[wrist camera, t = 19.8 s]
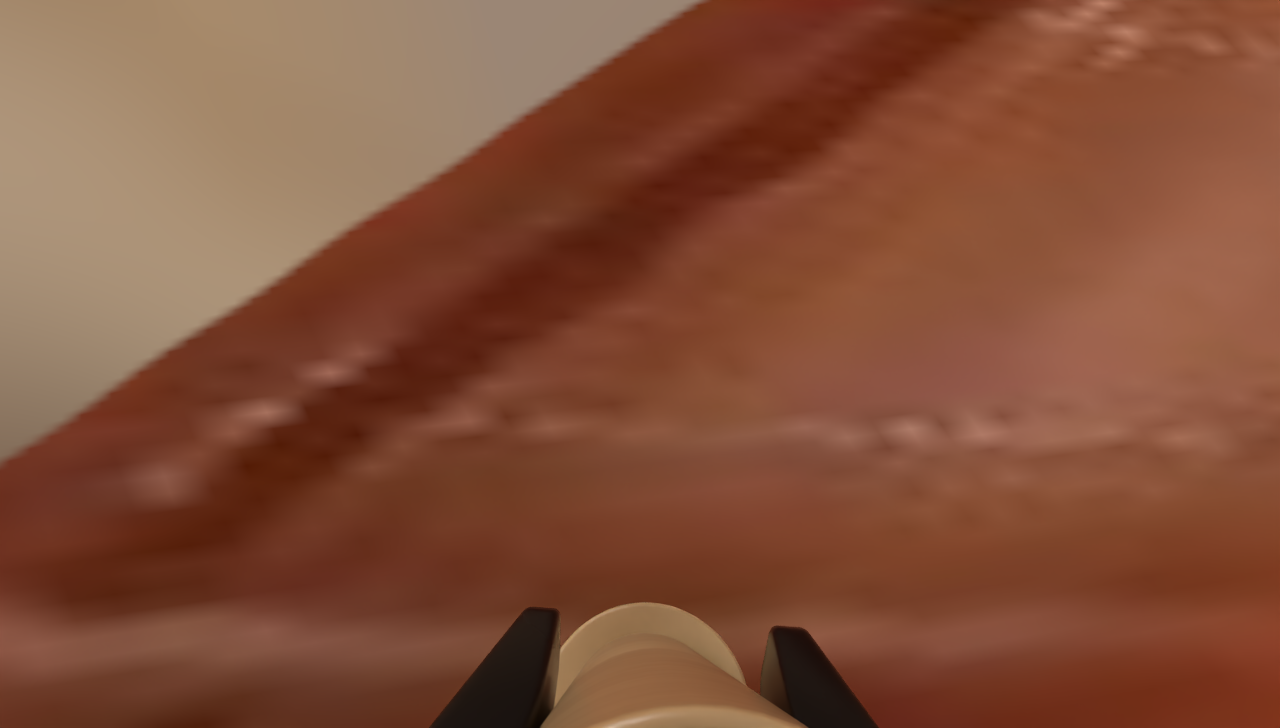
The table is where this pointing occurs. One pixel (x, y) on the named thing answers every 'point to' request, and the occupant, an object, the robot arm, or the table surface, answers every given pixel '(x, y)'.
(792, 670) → the robot arm
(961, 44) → the table surface
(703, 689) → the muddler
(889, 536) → the table surface
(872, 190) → the table surface
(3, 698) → the table surface
